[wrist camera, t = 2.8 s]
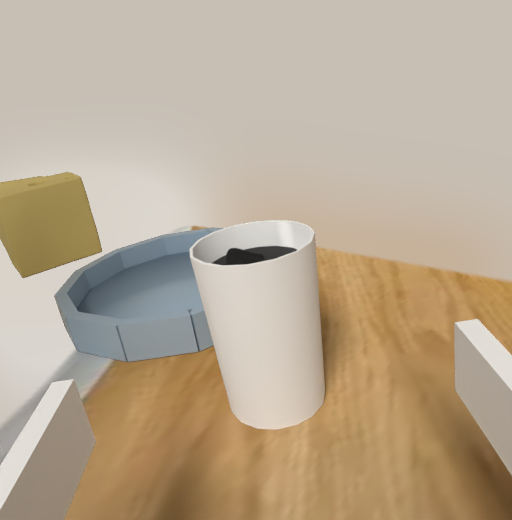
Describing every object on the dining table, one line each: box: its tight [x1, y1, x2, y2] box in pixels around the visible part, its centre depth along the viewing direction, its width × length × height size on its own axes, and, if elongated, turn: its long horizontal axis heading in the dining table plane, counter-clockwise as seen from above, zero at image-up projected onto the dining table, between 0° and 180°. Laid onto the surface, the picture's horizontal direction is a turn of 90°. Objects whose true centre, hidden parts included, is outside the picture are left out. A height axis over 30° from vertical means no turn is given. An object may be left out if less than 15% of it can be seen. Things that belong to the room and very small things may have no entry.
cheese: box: [0, 172, 102, 278], centre depth 59 cm, size 10×11×10 cm
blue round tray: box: [54, 228, 224, 362], centre depth 43 cm, size 20×20×3 cm
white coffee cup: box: [189, 220, 325, 430], centre depth 27 cm, size 7×7×10 cm
